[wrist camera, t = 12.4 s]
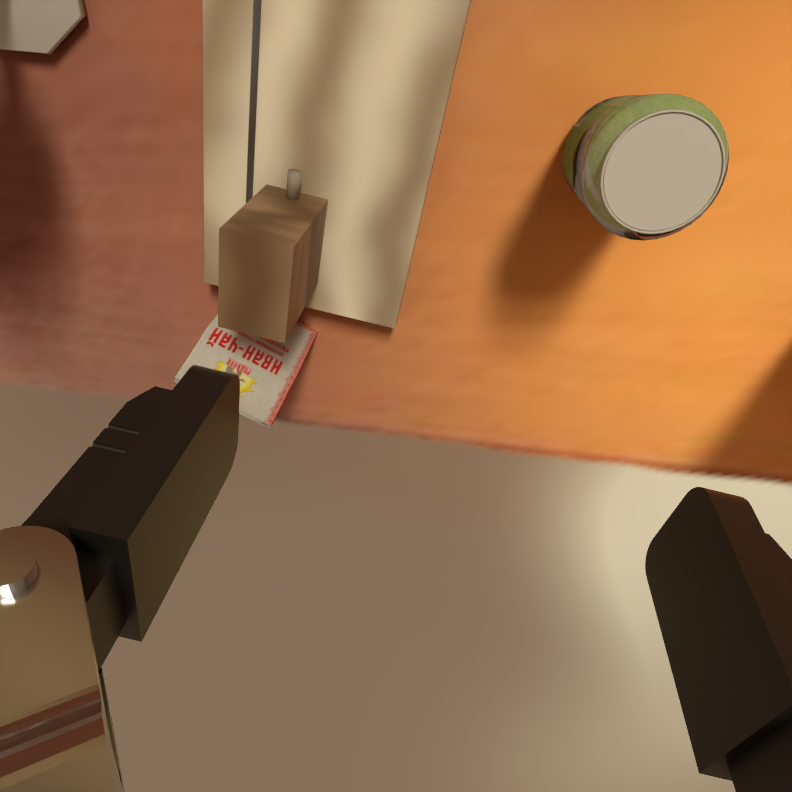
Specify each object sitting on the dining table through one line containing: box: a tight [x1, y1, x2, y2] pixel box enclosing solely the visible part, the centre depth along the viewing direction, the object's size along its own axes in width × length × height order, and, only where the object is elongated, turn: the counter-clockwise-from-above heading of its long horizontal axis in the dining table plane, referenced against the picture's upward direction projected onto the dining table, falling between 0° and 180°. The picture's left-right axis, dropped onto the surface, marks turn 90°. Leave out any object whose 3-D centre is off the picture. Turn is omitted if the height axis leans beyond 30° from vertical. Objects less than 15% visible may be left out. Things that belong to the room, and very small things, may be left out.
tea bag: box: [174, 315, 318, 429], centre depth 41 cm, size 4×7×10 cm, turn 61°
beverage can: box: [563, 94, 729, 240], centre depth 29 cm, size 6×7×12 cm
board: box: [203, 0, 471, 329], centre depth 36 cm, size 14×20×2 cm
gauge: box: [218, 169, 328, 343], centre depth 34 cm, size 4×8×8 cm, turn 169°
